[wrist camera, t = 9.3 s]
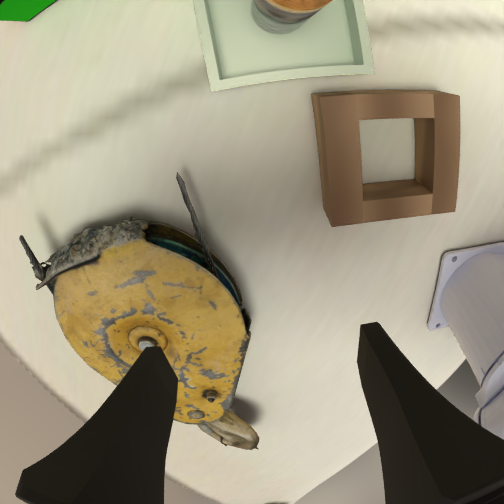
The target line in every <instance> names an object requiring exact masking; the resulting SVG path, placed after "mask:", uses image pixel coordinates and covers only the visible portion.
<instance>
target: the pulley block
mask: <svg viewBox="0 0 504 504" xmlns="http://www.w3.org/2000/svg"><path fill="white" fill-rule="evenodd" d="M176 178H177V181H178V184H179V186H180V189H181V192H182V195H183V198H184V201H185V204H186V206H187V208H188V210H189V212H190V214H191V219H192V223H193V227H194V232H195V235H196V237H197V239H198V240H197V239H195V238H193V237H192V236H190V235H188V234H187V233H185V232H183V231H181V230H178V229H176V228H173V227H171V226H168V225H165V224H163V223H153V222H148V221H145V220H135V221H132V217H129V218H128V219H127V220H123V221H125V222H120V221H119V222H117V223H116V224H115V225H112V226H109V227H107V226H103V227H102V228H100V229H97V228H85V229H84V231H83V232H82V233H80V234H74V238H73V239H72V240H71V242H70V243H68V244H67V245H65V246H63V247H61V248H60V249H59V251H58V252H56V253H54V254H53V255H51V256H50V258H49V259H48V260H47V261H45V262H51V265H49V264H47V263H44V262H42V263H41V264H40V263H39V262H38V260H37V259H36V257H35V255H34V254H33V252H32V250H31V249H30V247H29V246H28V244H27V242H26V241H25V239H24V237H23V236H22V235H20V238H19V239H20V241H21V243H22V245H23V247H24V249H25V251H26V254H27V256H28V257H29V259H30V263H31V264H32V265H33V266H32V268H33V271H34V273H35V277H36V278H38V279H39V280H41V281H42V282H41V283H40V284H37V286H36V290H38V289H40V288H41V287H43V286H44V285H47V287H48V288H49V290H50V291H51V292H52V294H53V297H54V307H55V313H56V317H57V320H58V322H59V325H60V327H61V329H62V331H63V333H64V336H65V338H66V339H67V340H68V342H69V343H70V345H71V346H72V348H73V349H74V350H75V351H76V352H77V354H78V355H79V356H80V357H81V358H82V359H83V360H84V361H85V362H86V363H87V364H88V365H89V366H90V367H91V368H93V369H94V370H95V371H97V372H98V373H99V374H101V375H102V376H104V377H105V378H106V379H108V380H109V381H111V382H112V383H114V384H115V385H117V386H118V384H119V383H120V382H121V380H122V379H123V378H124V376H125V375H126V373H127V372H128V371H129V369H130V368H131V367H132V365H133V364H134V362H135V361H136V360H137V358H138V357H139V356H140V354H141V353H142V352H143V350H144V349H145V348H146V347H152V346H161V348H162V350H163V352H164V354H165V356H166V357H167V359H168V361H169V363H170V365H171V367H172V368H173V370H174V372H175V374H176V376H177V377H178V391H177V403H176V408H175V413H174V418H173V420H175V421H179V422H182V423H185V424H197V425H198V427H199V428H200V429H201V430H202V431H203V432H205V433H207V434H208V435H210V436H212V437H213V438H215V439H217V440H218V441H220V442H221V443H222V444H224V445H225V446H227V445H230V446H234V447H237V448H242V449H246V450H247V449H250V450H252V449H254V448H256V449H258V448H257V445H258V443H259V437H258V435H257V433H256V432H255V431H254V429H253V428H252V427H251V426H250V425H248V424H247V423H246V422H245V421H243V420H242V419H241V418H239V417H238V416H236V415H235V414H233V413H232V412H231V411H229V410H228V408H229V407H230V406H231V405H232V403H233V400H234V396H235V392H236V388H237V384H238V381H239V377H240V373H241V369H242V366H243V362H244V359H245V355H246V351H247V348H248V344H249V341H250V336H251V332H250V331H249V328H250V324H251V318H250V317H249V315H248V313H247V311H246V310H245V308H244V309H241V305H242V304H241V302H242V298H241V293H240V289H239V287H238V285H237V282H236V280H235V279H234V277H233V276H232V274H231V272H230V271H229V269H228V268H227V266H226V265H225V264H224V263H223V262H222V261H221V260H220V259H219V258H218V257H217V256H216V255H215V254H214V253H213V252H212V251H211V250H210V249H209V248H208V246H207V243H206V241H205V238H204V236H203V233H202V230H201V228H200V225H199V222H198V219H197V217H196V214H195V211H194V209H193V206H192V204H191V202H190V199H189V196H188V193H187V191H186V187H185V183H184V181H183V179H182V178H181V177H180V175H179V174H178V172H177V177H176ZM42 264H46V266H45V267H43V266H42Z"/></svg>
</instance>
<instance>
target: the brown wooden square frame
mask: <svg viewBox="0 0 504 504" xmlns="http://www.w3.org/2000/svg"><path fill="white" fill-rule="evenodd" d="M311 96H312V103H313V111H314V118H315V126H316V135H317V143H318V153H319V162H320V172H321V183H322V195H323V207H324V210H325V213H326V215H327V217H328V219H329V222H330V224H331V226H332V227H336V226H343V225H351V224H359V223H367V222H375V221H382V220H390V219H398V218H407V217H415V216H423V215H431V214H440V213H448V212H455V208H456V199H457V188H458V176H459V159H460V96H458V95H454V94H450V93H445V92H440V91H427V90H363V91H342V92H328V93H316V94H311ZM389 118H414V119H415V179H411V180H400V181H389V182H378V183H368V184H362V165H361V148H360V133H359V121H358V120H367V119H389Z"/></svg>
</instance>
